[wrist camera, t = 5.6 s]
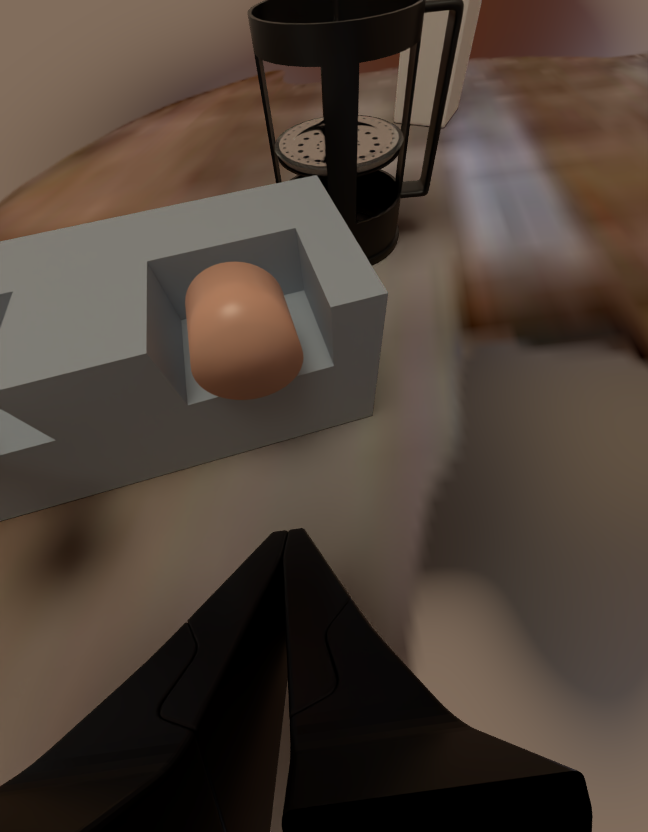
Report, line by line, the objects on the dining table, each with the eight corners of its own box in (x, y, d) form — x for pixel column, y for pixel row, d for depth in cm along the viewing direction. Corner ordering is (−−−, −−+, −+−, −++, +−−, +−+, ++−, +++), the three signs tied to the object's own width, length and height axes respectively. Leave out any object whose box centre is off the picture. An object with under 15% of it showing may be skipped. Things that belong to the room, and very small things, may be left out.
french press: (272, 277, 24) (-56, -1156, 5) (278, 211, 29) (131, -623, 9) (429, 265, 24) (829, -1394, 4) (409, 200, 29) (545, -703, 9)
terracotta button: (308, 384, 12) (295, 309, 9) (215, 409, 12) (168, 340, 9) (282, 304, 15) (264, 222, 12) (203, 322, 14) (164, 245, 11)
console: (372, 415, 18) (387, 292, 11) (-287, 602, 15) (-842, 600, 8) (326, 308, 22) (316, 174, 15) (-184, 436, 19) (-479, 342, 12)
